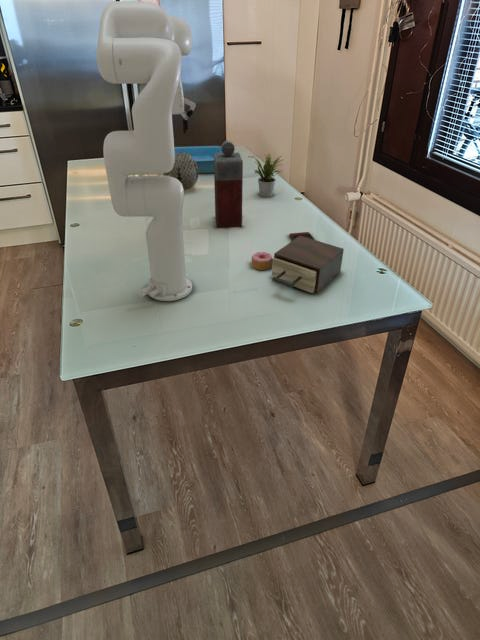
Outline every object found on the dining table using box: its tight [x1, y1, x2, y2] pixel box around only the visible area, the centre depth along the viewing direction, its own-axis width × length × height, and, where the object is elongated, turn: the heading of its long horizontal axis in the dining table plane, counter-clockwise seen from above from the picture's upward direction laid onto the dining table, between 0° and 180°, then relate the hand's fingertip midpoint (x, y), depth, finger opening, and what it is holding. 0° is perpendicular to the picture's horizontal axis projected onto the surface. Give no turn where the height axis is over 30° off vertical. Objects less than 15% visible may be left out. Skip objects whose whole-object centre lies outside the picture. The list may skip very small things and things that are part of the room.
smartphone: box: [289, 231, 316, 241], centre depth 152 cm, size 7×1×15 cm
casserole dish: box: [166, 145, 223, 175], centre depth 214 cm, size 37×22×7 cm, turn 97°
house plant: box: [253, 152, 284, 198], centre depth 183 cm, size 14×14×16 cm
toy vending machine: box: [213, 140, 244, 229], centre depth 159 cm, size 9×11×28 cm
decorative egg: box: [168, 152, 199, 191], centre depth 189 cm, size 12×12×15 cm
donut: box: [251, 251, 274, 271], centre depth 140 cm, size 6×6×3 cm
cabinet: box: [273, 236, 345, 295], centre depth 134 cm, size 14×14×8 cm
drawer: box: [271, 257, 317, 294], centre depth 131 cm, size 19×13×6 cm
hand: (169, 132), depth 147 cm, fingers open, 9 cm apart
